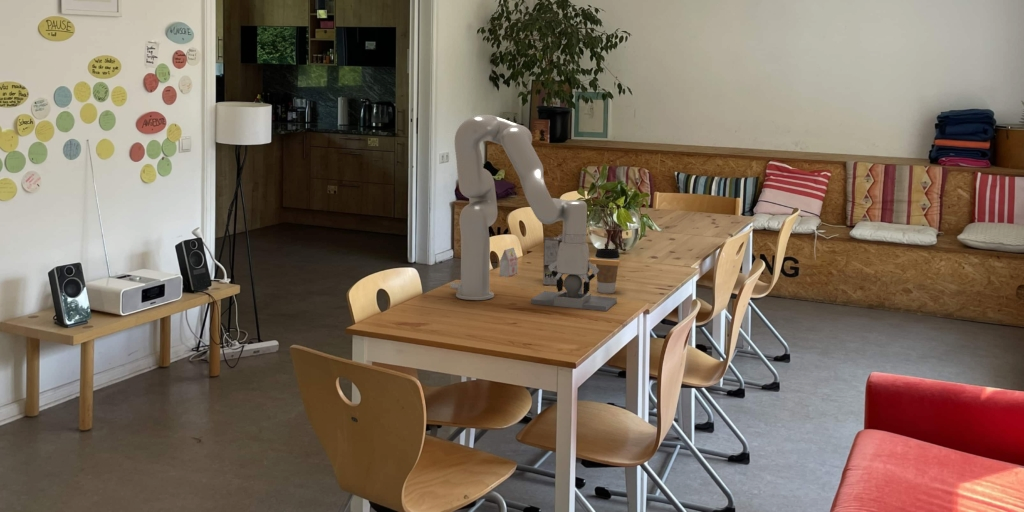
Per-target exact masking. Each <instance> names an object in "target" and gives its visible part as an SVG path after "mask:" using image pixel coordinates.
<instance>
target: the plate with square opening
mask: <svg viewBox="0 0 1024 512" xmlns="http://www.w3.org/2000/svg"><path fill="white" fill-rule="evenodd" d="M578 276H579V277H580V278H581V280H582V287H581V289H580V290H579V292H578V296H577V298H568V294H567V291H566V290H564V291H563V290H562V291H560V292H558V291H548V290H544V291H542V292H541V293H539V294H537V295H536V296H534V297H532V298H531V299H530V304H531V305H537V306H538V305H539V306H540V305H541V306H548V307H550V306H552V307H561V308H572V309H581V310H588V309H589V310H590V311H600V312H607V311H608V310H609V309H611V308H612V307H613V306H614V305H615V304H617V302H618V299H617V297H612V296H611V297H610V296H601V295H600V296H599V295H592V293H589V292H588V293H587V294H583V286H584V278H583V276H582V275H578Z"/></svg>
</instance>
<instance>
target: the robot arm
mask: <svg viewBox="0 0 1024 512" xmlns="http://www.w3.org/2000/svg"><path fill="white" fill-rule="evenodd" d="M487 141H488V142H491V143H495V144H497V145H500V146H502V148H503V150H504V152H505V154H506V155H507V158H508V159H509V161H510V163H511V164H512V166H513V169H514V170H515V172H516V174H517V176H518V178H519V181H520V185H521V188H522V191H523V194H524V196H525V199H526V200H527V203H528V206H529V207H530V209H531V211H532V212H533V214H534V216H535V218H536V219H537V220H538V221H539V222H540V223H541V224H544V225H552V224H555V223H556V222H560V221H562V232H561V233H562V234H561V233H560V234H558V236H557V237H558V238H560V239H562V242H561V243H560V245H559V250H558V257H557V261H556V262H554V263H552V264H551V265H549V266H548V267H549V269H550V271H551V272H552V274H553V275H554V277H555V278H556V280H557V285H555V286H556V289H557V292H560V293H561V292H562V291H563V287H564V279H563V275H582V276H583V294H587V293H588V294H589V292H590V288H591V287H590V285H591V283H590V281H591V280H592V279H594V277H596V276H597V273H598V271H599V269H598V268H597V267H596V265H595V264H592V263H590V258H591V257H590V250H589V243H587V218H588V205H587V202H585V201H584V200H578V199H570V200H566V199H561V198H555V197H552V196H551V195H550V192H549V190H548V187H547V185H546V183H545V178H544V166H543V163H542V161H541V160H540V158H539V156H538V154H537V151H535V148H534V147H533V145H532V143H533V135H532V132H531V131H530V129H528V127H526V126H524V125H521V124H519V123H516V122H512V121H510V120H507V119H504V118H502V117H498V116H496V115H491V114H479V115H478V114H477V115H473V116H471V117H468V118H467V119H465V120H464V121H463V122H462V123H461V124H460V125H459V126H458V128H457V130H456V131H455V135H454V150H455V152H454V153H455V160H456V170H457V172H456V173H457V179H458V188H459V189H458V190H459V192H460V193H461V195H463V197H465V198H467V199H469V203H468V204H466V205H465V206H464V207H463V208H462V210H461V212H460V214H459V222H458V223H459V229H460V282H450V284H449V288H450V289H451V290H457V291H456V292H455V296H456V298H458V299H461V300H465V301H485V300H491V299H493V298H494V297H495V294H494V292H493V291H490V267H491V265H490V260H491V259H490V258H491V254H490V253H491V252H490V251H491V249H490V248H491V247H490V246H491V242H490V241H491V240H490V232H489V227H491V226H492V225H494V223H495V222H496V220H497V219H498V204H497V203H498V201H497V193H496V185H495V180H494V177H493V175H492V173H491V172H490V171H489V170H487V169H486V168H484V165H483V154H482V150H481V144H482V142H487ZM556 265H557V271H556V270H555V268H554V267H555V266H556ZM590 270H592V272H591V274H589V272H590Z"/></svg>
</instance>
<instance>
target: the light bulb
mask: <svg viewBox="0 0 1024 512" xmlns="http://www.w3.org/2000/svg"><path fill="white" fill-rule="evenodd" d="M563 287H564V288H565V291H567V294H568V298H577V296H578V292H579V290H580V289H581V287H582V280H581V278H580V277H579V276H578V275H570V274H567V276H566V277H565V278H564V279H563Z"/></svg>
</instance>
